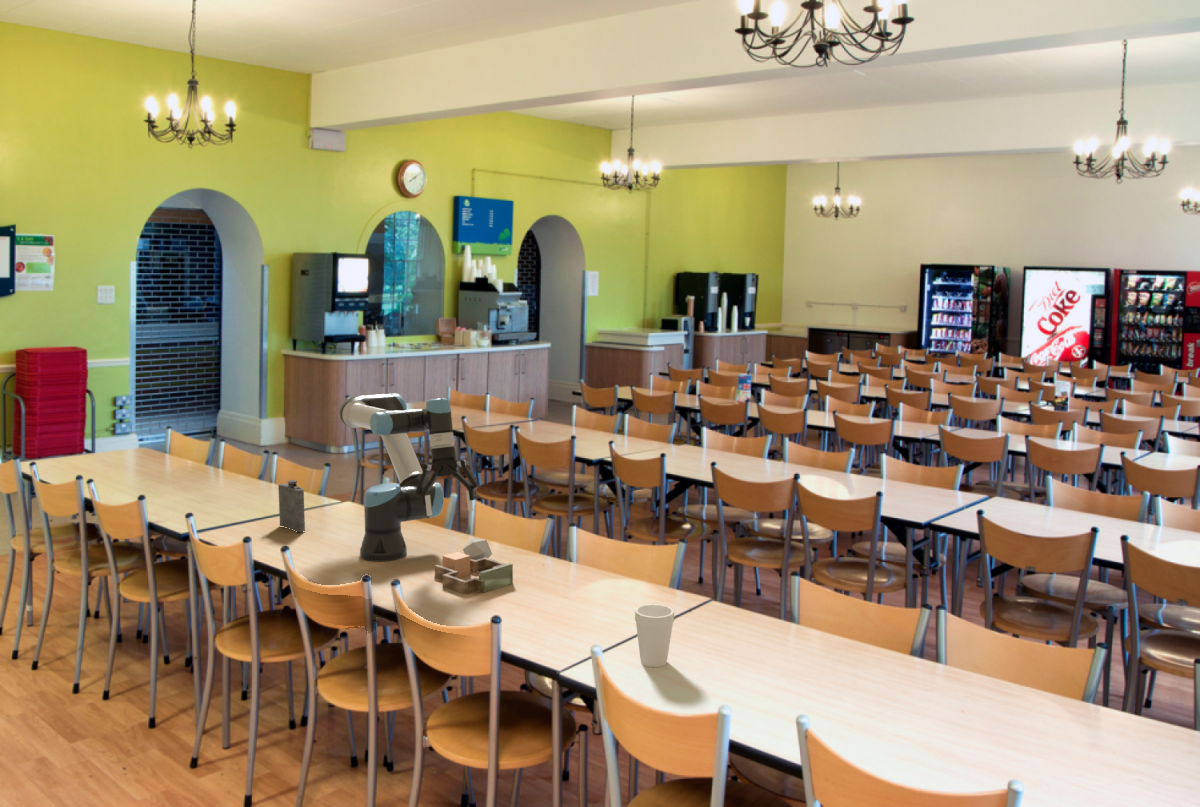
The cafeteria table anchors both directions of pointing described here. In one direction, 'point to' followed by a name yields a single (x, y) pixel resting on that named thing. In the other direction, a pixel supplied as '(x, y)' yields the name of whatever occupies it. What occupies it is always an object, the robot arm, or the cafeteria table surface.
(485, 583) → the trap lane
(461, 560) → the block
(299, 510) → the flask
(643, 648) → the foam cup
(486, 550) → the die
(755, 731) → the cafeteria table surface
